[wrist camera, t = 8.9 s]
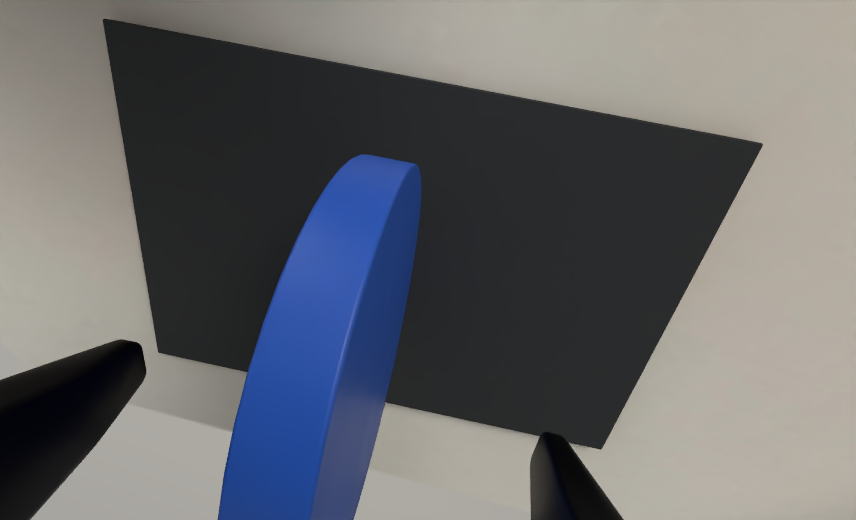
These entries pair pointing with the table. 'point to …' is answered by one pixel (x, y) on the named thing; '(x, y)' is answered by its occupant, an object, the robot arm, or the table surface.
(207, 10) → the table surface
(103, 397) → the robot arm
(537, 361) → the mat
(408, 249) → the plate
